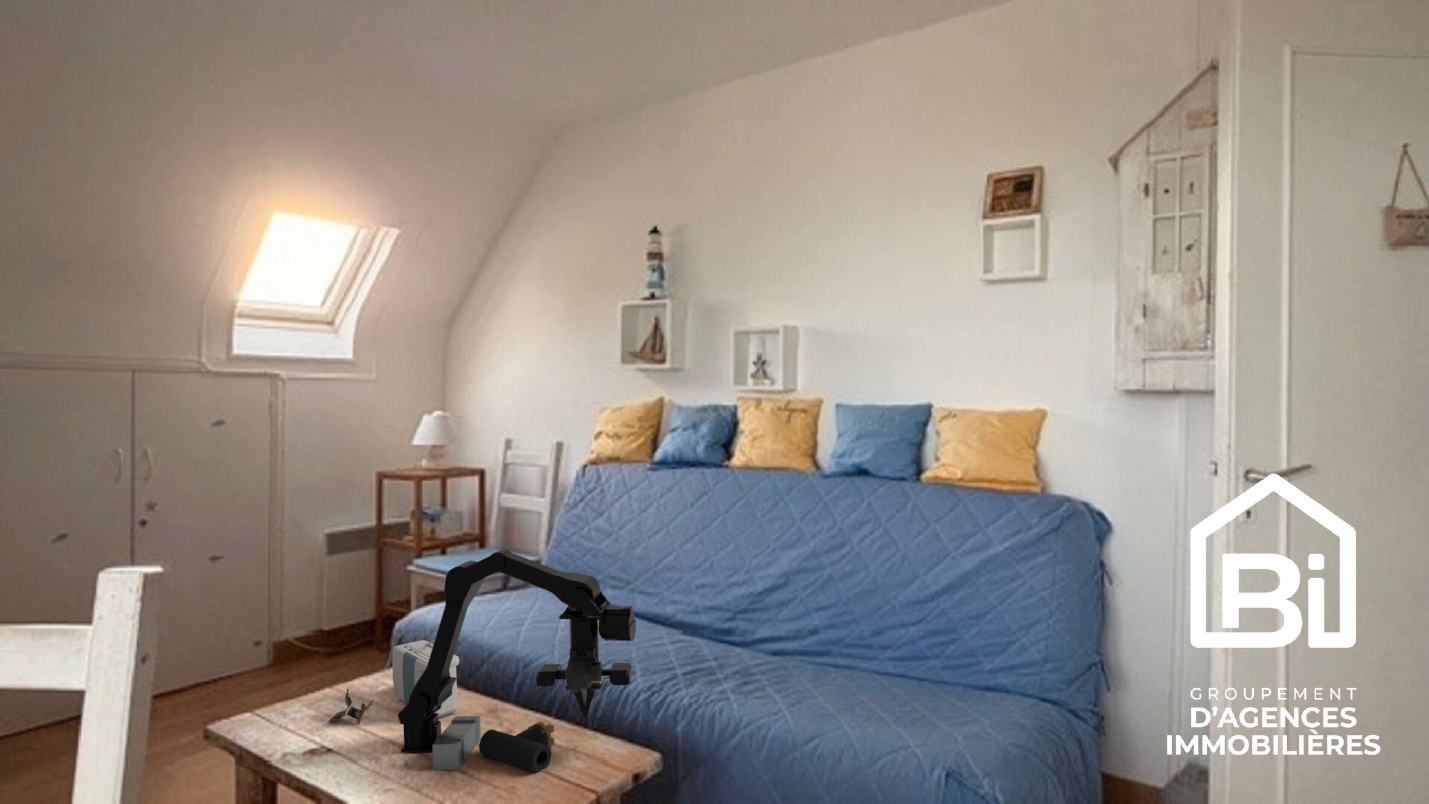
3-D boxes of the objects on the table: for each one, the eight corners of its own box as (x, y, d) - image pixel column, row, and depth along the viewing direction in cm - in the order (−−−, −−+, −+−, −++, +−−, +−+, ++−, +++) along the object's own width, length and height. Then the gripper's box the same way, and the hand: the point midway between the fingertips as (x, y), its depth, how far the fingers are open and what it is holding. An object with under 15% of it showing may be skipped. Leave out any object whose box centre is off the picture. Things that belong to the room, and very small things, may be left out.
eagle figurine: (380, 710, 185) (352, 698, 189) (369, 691, 181) (341, 679, 185) (355, 738, 180) (327, 725, 183) (343, 720, 175) (315, 706, 179)
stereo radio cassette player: (392, 700, 195) (389, 617, 194) (425, 691, 200) (423, 611, 200) (427, 724, 179) (425, 635, 179) (462, 713, 185) (460, 627, 185)
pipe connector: (520, 713, 171) (573, 727, 163) (521, 738, 171) (574, 753, 163) (478, 734, 161) (532, 750, 153) (479, 760, 162) (533, 777, 153)
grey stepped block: (433, 770, 157) (432, 742, 157) (457, 739, 171) (456, 714, 171) (458, 769, 157) (458, 742, 156) (480, 739, 171) (480, 713, 170)
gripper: (528, 653, 155) (530, 733, 155) (625, 651, 155) (626, 732, 155) (542, 636, 166) (543, 711, 166) (631, 634, 166) (633, 709, 166)
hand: (586, 716), depth 163 cm, fingers closed
